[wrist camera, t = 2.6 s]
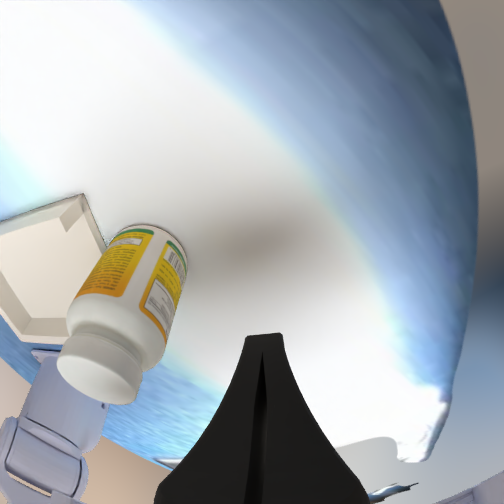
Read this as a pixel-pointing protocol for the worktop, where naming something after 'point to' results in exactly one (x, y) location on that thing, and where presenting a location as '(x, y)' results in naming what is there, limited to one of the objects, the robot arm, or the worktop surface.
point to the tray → (46, 267)
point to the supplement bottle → (123, 315)
